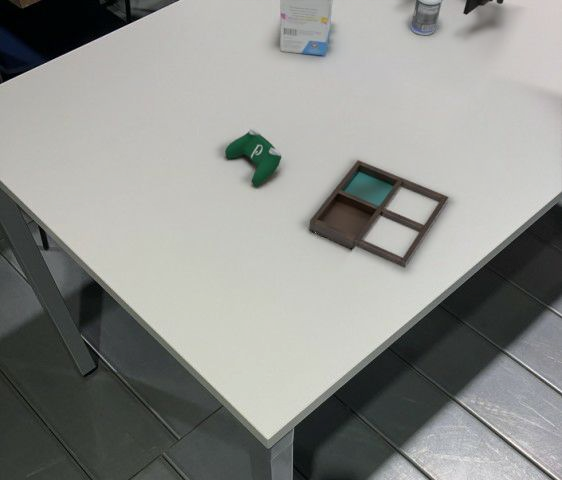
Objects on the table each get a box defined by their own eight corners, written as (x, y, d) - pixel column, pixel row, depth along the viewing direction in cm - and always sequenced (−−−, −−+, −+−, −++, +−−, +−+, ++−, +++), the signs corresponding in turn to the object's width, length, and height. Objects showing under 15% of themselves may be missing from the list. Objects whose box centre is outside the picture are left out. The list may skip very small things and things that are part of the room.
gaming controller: (267, 192, 98) (290, 160, 96) (253, 185, 95) (276, 152, 93) (235, 159, 102) (256, 128, 100) (220, 152, 99) (242, 119, 97)
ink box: (331, 31, 118) (338, -45, 107) (325, 57, 114) (331, -20, 103) (286, 26, 119) (288, -51, 108) (279, 51, 115) (280, -26, 103)
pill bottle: (415, 19, 121) (424, -27, 114) (438, 26, 120) (449, -20, 113) (407, 31, 119) (416, -15, 112) (430, 38, 118) (441, -8, 111)
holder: (445, 206, 95) (448, 196, 93) (403, 272, 88) (405, 263, 86) (356, 170, 99) (357, 159, 97) (308, 230, 92) (309, 220, 90)
